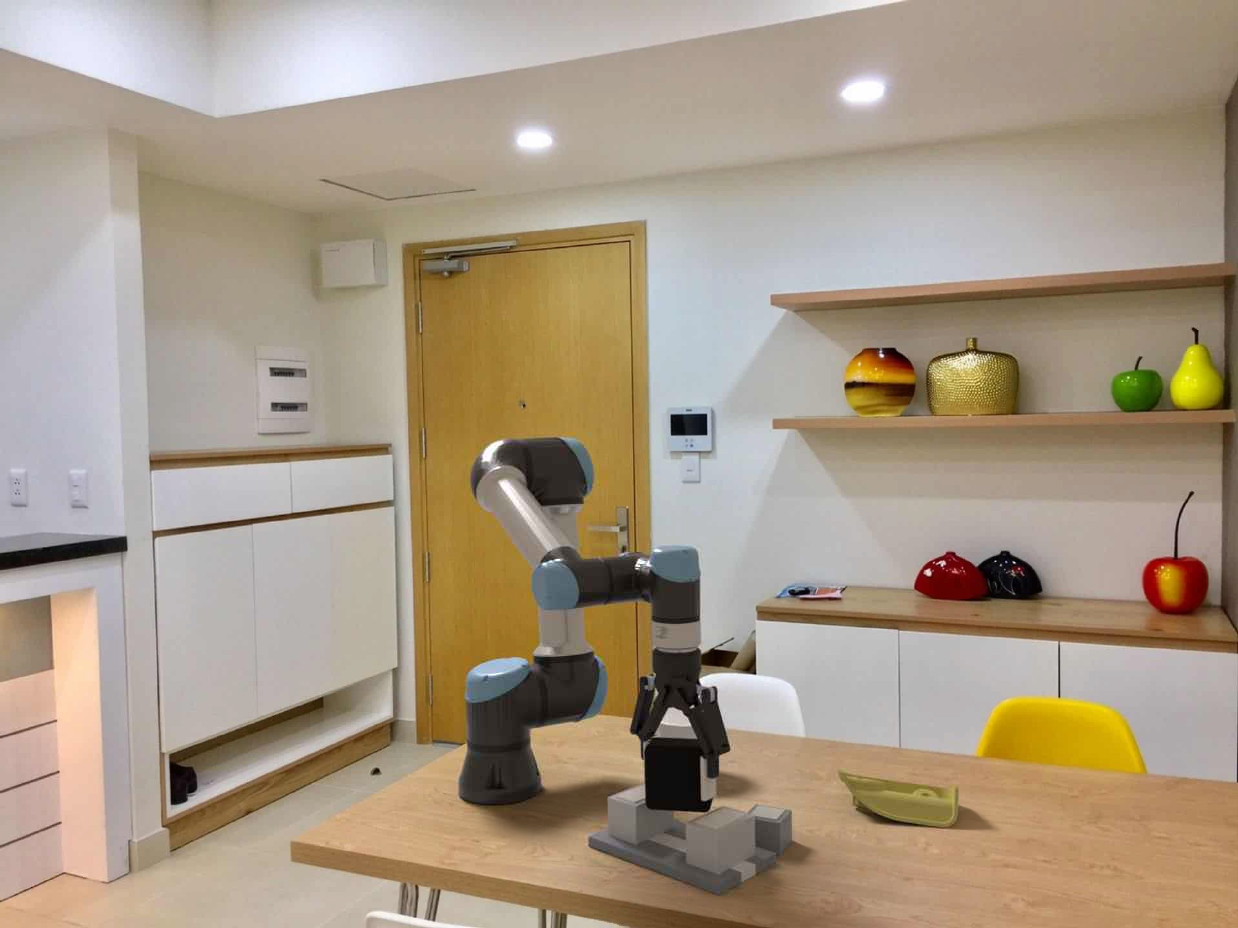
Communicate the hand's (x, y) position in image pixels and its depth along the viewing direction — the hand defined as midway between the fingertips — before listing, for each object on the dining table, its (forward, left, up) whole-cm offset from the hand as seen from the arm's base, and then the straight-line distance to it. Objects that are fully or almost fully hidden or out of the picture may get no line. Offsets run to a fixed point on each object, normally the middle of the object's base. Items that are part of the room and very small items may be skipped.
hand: (679, 789), depth 155 cm
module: (+8, +12, -10) cm, 18 cm away
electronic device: (0, 0, -3) cm, 3 cm away
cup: (-23, +29, -10) cm, 38 cm away
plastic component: (+16, +38, -11) cm, 43 cm away
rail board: (0, 0, -10) cm, 10 cm away
